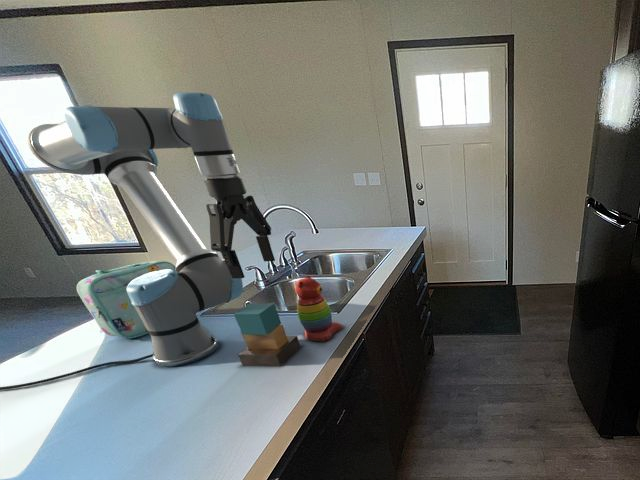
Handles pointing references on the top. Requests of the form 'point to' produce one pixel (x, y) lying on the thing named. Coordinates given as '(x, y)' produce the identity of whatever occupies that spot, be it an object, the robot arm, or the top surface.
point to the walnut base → (269, 354)
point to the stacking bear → (314, 311)
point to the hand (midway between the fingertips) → (255, 269)
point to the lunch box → (117, 298)
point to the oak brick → (267, 339)
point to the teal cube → (258, 319)
